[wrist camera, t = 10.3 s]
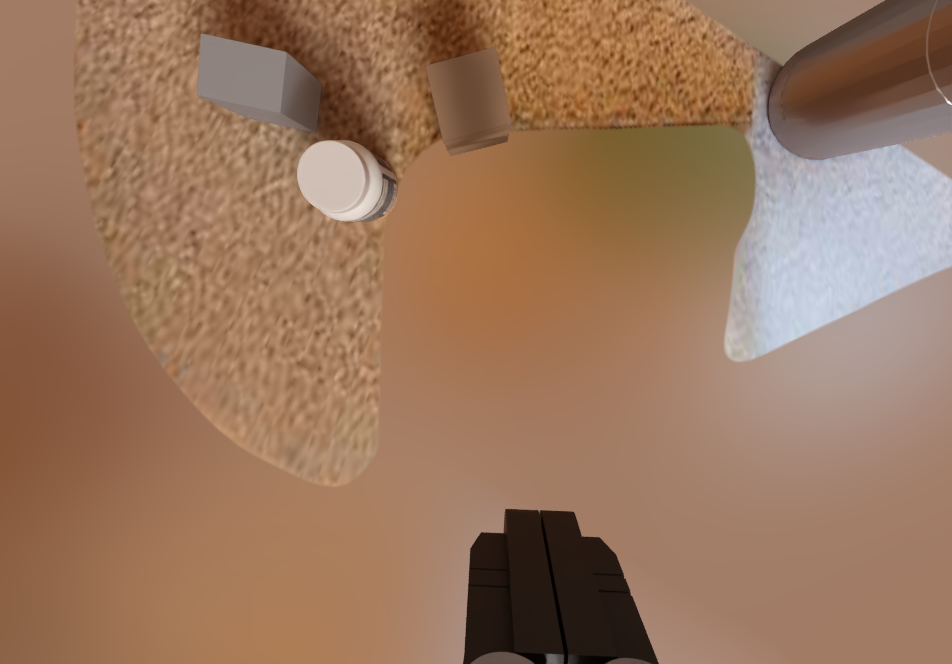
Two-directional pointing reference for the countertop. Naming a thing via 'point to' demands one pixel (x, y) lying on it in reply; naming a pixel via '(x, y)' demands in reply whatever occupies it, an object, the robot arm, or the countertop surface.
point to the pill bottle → (347, 181)
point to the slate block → (258, 83)
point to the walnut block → (470, 101)
